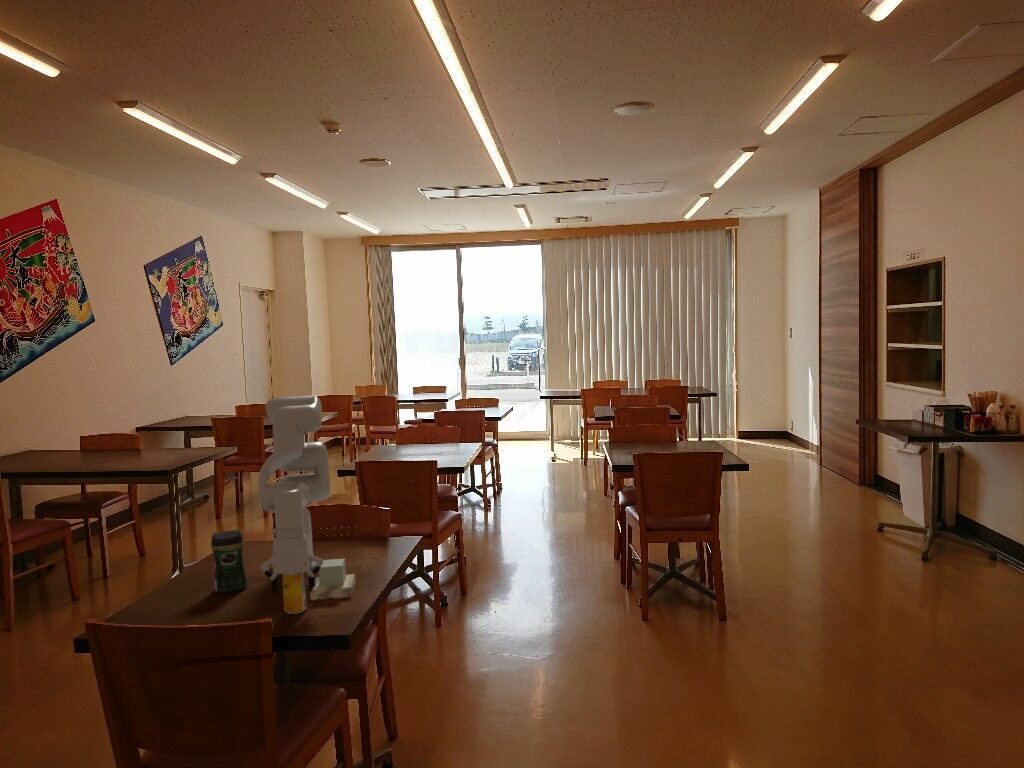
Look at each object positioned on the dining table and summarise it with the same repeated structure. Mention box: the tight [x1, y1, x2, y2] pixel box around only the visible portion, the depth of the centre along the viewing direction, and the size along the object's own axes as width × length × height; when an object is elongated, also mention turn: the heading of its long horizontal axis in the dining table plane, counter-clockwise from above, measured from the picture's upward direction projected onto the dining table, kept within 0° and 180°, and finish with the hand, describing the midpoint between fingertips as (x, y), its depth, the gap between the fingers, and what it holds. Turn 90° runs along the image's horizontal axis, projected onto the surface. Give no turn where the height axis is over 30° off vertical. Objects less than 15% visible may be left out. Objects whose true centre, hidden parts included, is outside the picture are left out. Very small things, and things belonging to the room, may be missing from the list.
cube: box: [318, 558, 347, 587], centre depth 226 cm, size 7×7×6 cm
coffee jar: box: [210, 529, 248, 594], centre depth 232 cm, size 10×8×19 cm
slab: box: [309, 573, 356, 601], centre depth 226 cm, size 12×12×3 cm
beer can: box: [281, 566, 307, 615], centre depth 211 cm, size 6×6×15 cm
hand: (294, 591), depth 210 cm, fingers open, 9 cm apart
